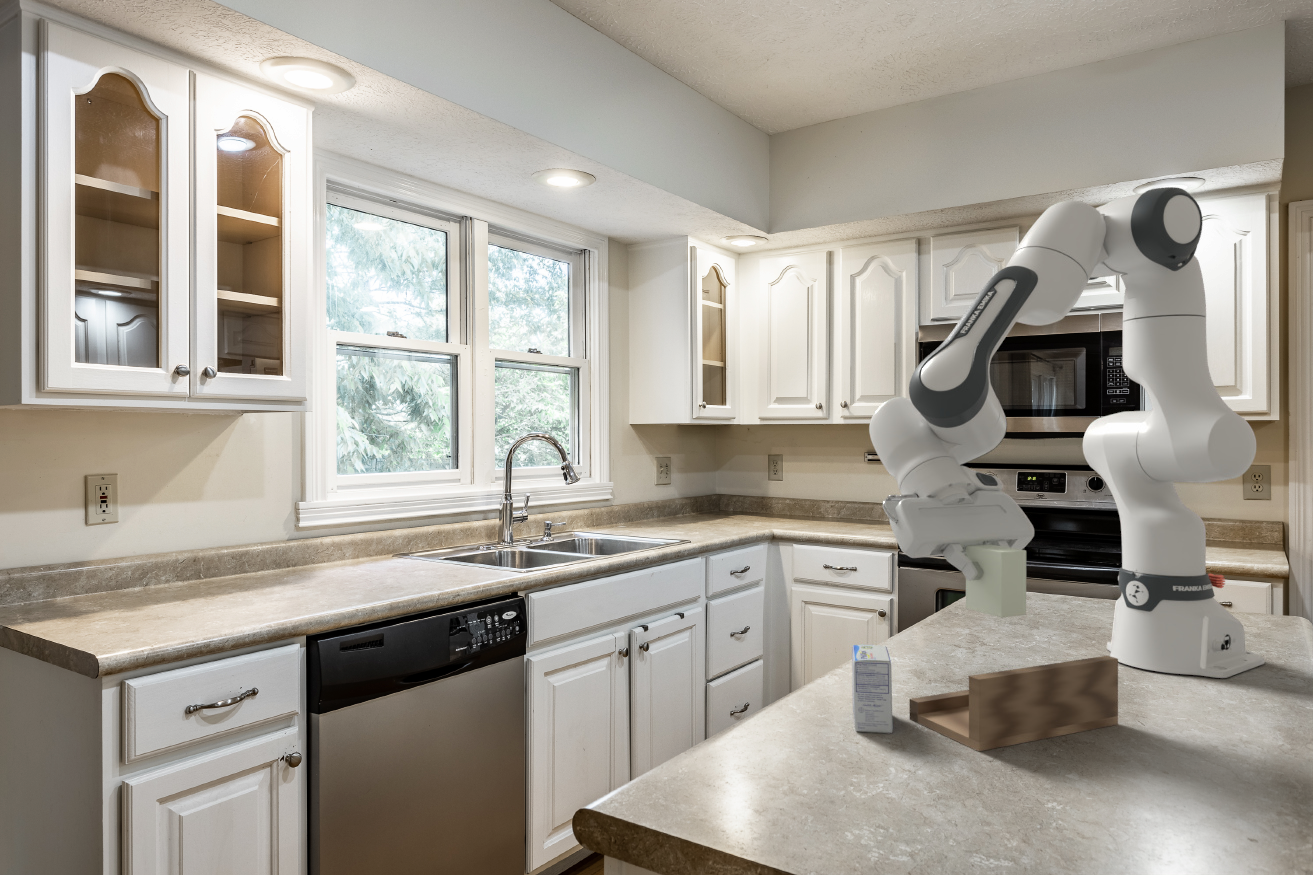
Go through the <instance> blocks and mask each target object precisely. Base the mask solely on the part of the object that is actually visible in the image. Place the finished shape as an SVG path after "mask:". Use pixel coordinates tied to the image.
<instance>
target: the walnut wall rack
mask: <svg viewBox="0 0 1313 875" xmlns="http://www.w3.org/2000/svg"><path fill="white" fill-rule="evenodd" d="M909 720H911V721H913V722H915V723H917V724H920V725H922V726H924V727H925V728H928V729H931V730H932V731H935V732H936V733H939V734H941V735H943V736H945V737H947V738H949V739H951V740H954V741H956V742H958V743H961V744H962V745H964V746H966V747H968V748H971V749H973V750H975V751H977V752H982V751H983V752H984V751H988V750H993V749H998V748H1003V747H1009V746H1013V745H1018V744H1020V745H1021V744H1024V743H1029V742H1033V741H1034V742H1035V741H1040V740H1044V739H1050V738H1056V737H1061V736H1064V735H1071V734H1075V733H1080V732H1086V731H1092V730H1096V729H1101V728H1106V727H1111V726H1117V725H1119V662H1118V658H1114V657H1111V656H1110V655H1102V656H1096V657H1089V658H1083V659H1076V660H1075V659H1074V660H1068V661H1061V662H1056V663H1048V664H1042V665H1034V666H1028V667H1021V668H1014V669H1008V670H1001V671H995V672H986V673H979V674H974V675H968V689H963V690H958V691H952V692H945V693H939V694H932V695H925V696H920V697H913V698H912V697H911V698H909Z"/></svg>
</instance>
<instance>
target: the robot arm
mask: <svg viewBox="0 0 1313 875" xmlns="http://www.w3.org/2000/svg"><path fill="white" fill-rule="evenodd" d="M1202 232H1203V215H1202V210H1201V207H1200V205H1199V204H1198V201H1196V199H1195V198H1194V197H1193V196H1192V195H1191V194H1190V193H1189V192H1188V191H1187V190H1185V189H1184V188H1180V187H1176V186H1175V187H1169V186H1168V187H1157V188H1151V189H1149V190H1146V191H1145V192H1141V193H1137V194H1130V195H1127V196H1123V197H1120V198H1116V199H1114V200H1111V201H1108V202H1107V203H1106V204H1102V205H1100V206H1098V207H1094V206H1092V204H1091V205H1090V204H1088V203H1087V202H1083V201H1079V200H1064V201H1059V202H1056V203H1055V204H1052V205H1050V206H1048V208H1047V209H1046V210H1044V212H1042V213H1041V215H1040V216H1039V218H1037V220H1036V221H1035V222H1034V223H1033V224H1032V226H1031V227H1030V228H1029V229H1028V231H1027V233H1025V235H1024V236H1023V238H1022V240H1021V241H1020V242H1019V243H1018V246H1017V247H1016V249H1015V251H1014V252H1013V254H1012V255H1011V258H1010V259H1009V261H1008V262H1007V264H1006V266H1005V267H1004V268H1002V269H1001V270H999V271H998V272H996V273H995V274H994V275H992V277H991V278H990V279H989V280H988V281H987V283H986V284H985V285H984V286H983V288H981V290H980V291H979V293H978V294H977V296H975V299H974V300H973V301H972V303H971V304H970V305H969V307H968V308H967V310H966V311H965V312H964V314H963V315H962V317H961V318H960V319H959V321H958V322H957V324H956V325H955V327H954V328H953V330H952V331H951V332H950V334H949V335H948V336H947V337H946V338H945V340H944V341H943V342H942V343H941V344H940V345H939V346H938V347H937V348H936V349H935V350H933V351H932V352H931V353H930V354H928V355H927V356H926V357H925V358H924V359H922V361H921V362H920V363H919V365H917V367H916V368H915V369H914V371H913V373H912V375H911V377H910V380H909V385H908V394H909V398H907V397H903V396H897V397H893V398H890V399H888V400H887V401H884V403H882V404H881V405H880V406H879V407H878V408H877V409H876V410H875V412H874V413H873V415H872V416H871V419H870V421H869V427H868V432H869V436H870V440H871V443H872V446H873V448H874V450H875V453H876V454H877V456H878V458H879V460H880V462H881V463H882V466H883V467H884V469H885V470H886V471H887V473H889V475H890V476H891V477H893V478H894V480H895V481H896V483H897V487H898V490H899V492H900V494H890V495H887V497H886V498H885V499H884V500H883V501H882V509H883V512H884V513H885V514H886V515H887V518H888V519H889V525H890V528H891V530H892V533H893V535H894V538H895V540H896V542H897V544H898V546H899V548H900V550H901V552H903V553H904V554H905V555H906V556H908V557H909V558H912V559H917V558H933V557H941V556H942V557H944V558H945V559H946V560H945V561H946V562H948V563H949V564H951V565H952V566H953V567H955V568H956V569H957V570H959V571H961V572H962V574H963V575H964V577H965V580H966V579H967V580H968V581H971V580H979V579H980V577H981V576H983V574H984V572H983V569H982V568H980V565H979V563H978V562H972V561H971V560H970V559H969V558H968V557H967V556H966V546H976V545H996V546H1002V547H1008V548H1014V549H1020V550H1024V549H1025V547H1026V546H1027V545H1028V544H1029V543H1030V542H1031V541H1032V539H1033V538H1034V537H1035V528H1034V525H1033V524H1032V522H1031V521H1030V519H1029V518H1028V516H1027V515H1026V514H1025V512H1024V511H1023V509H1022V508H1021V507H1020V506H1019V505H1018V503H1017V502H1016V501H1015V499H1014V498H1012V497H1011V495H1009V494H1007V493H1006V492H1004V491H1002V490H1003V488H1004V486H1005V484H1004V483H1003V482H1002V481H1001V479H1000V478H999V477H998V476H995V475H992V474H988V473H984V472H981V471H977V470H974V469H971V468H969V467H968V466H965V464H967V463H970V462H972V461H974V460H977V459H979V458H981V457H983V456H985V455H987V454H989V453H990V452H992V451H994V450H995V449H996V448H997V447H998V446H999V445H1001V443H1002V442H1003V440H1004V438H1005V437H1006V433H1007V430H1008V421H1007V416H1006V414H1005V412H1004V410H1003V407H1002V405H1001V403H1000V400H999V399H998V397H997V395H996V392H995V391H994V388H993V386H992V383H991V376H990V375H991V374H990V368H991V367H990V366H991V365H990V364H991V361H992V358H993V357H994V355H995V354H996V352H997V350H999V348H1000V346H1001V345H1002V344H1003V341H1004V340H1005V339H1006V337H1007V336H1008V335H1009V333H1010V332H1011V331H1012V330H1013V327H1014V325H1015V324H1016V323H1020V324H1023V325H1024V324H1025V325H1029V326H1038V327H1039V326H1040V327H1041V326H1046V325H1051V324H1054V323H1057V322H1060V321H1061V320H1063V319H1064V318H1065V317H1066V316H1067V315H1068V313H1069V312H1071V311H1072V309H1073V308H1074V307H1075V305H1076V304H1077V303H1078V301H1079V299H1080V298H1081V296H1082V295H1083V294H1082V293H1083V292H1084V290H1085V288H1086V286H1087V284H1088V282H1089V281H1091V280H1092V281H1094V280H1097V279H1099V278H1105V277H1106V278H1107V277H1113V276H1120V278H1121V280H1122V282H1123V284H1124V285H1123V286H1124V287H1125V290H1124V296H1123V305H1122V306H1123V307H1122V370H1123V372H1124V373H1125V375H1126V376H1127V377H1128V378H1129V379H1130V380H1131V381H1133V382H1135V383H1136V384H1139V385H1141V386H1142V388H1143V389H1144V390H1145V392H1146V394H1147V395H1148V397H1149V400H1150V404H1151V410H1134V411H1129V410H1128V411H1121V412H1120V411H1119V412H1117V413H1113V414H1108V415H1105V416H1102V417H1099V418H1097V419H1095V420H1093V421H1092V422H1091V423H1090V424H1089V425H1088V427H1087V428H1086V431H1085V432H1084V436H1083V437H1082V438H1083V440H1082V452H1083V456H1084V458H1085V460H1086V462H1087V464H1088V465H1089V467H1090V468H1091V469H1093V470H1094V471H1095V472H1096V473H1097V475H1099V476H1100V477H1101V478H1102V479H1103V481H1104V482H1105V484H1106V486H1107V487H1108V489H1109V491H1110V493H1111V495H1112V497H1113V499H1114V501H1115V505H1116V507H1117V513H1118V515H1119V521H1120V531H1121V533H1120V534H1121V536H1120V537H1121V563H1122V564H1121V567H1119V569H1118V576H1117V581H1118V590H1119V591H1120V592H1121V595H1120V597H1119V598H1118V599H1117V600H1116V602H1115V605H1114V606H1115V607H1114V614H1113V615H1114V616H1113V624H1112V631H1111V632H1112V633H1111V634H1112V635H1111V640H1110V641H1107V642H1106V649H1107V650H1108V651H1109V652H1110V654H1109V656H1110V657H1114V658H1118V663H1122V664H1123V665H1128V666H1131V667H1135V668H1139V669H1143V670H1147V671H1155V672H1159V673H1167V674H1177V675H1179V674H1180V675H1193V676H1202V677H1203V676H1204V677H1208V678H1209V677H1210V678H1217V679H1219V678H1220V679H1226V678H1229V677H1232V676H1234V675H1237V674H1240V673H1243V672H1246V671H1249V670H1251V669H1254V668H1256V667H1258V666H1263V665H1264V664H1265V662H1266V661H1265V657H1264V656H1262V655H1260V654H1258V653H1255V652H1252V651H1249V650H1246V636H1245V635H1246V634H1245V629H1244V628H1245V627H1244V625H1243V623H1242V622H1241V621H1240V620H1239V619H1238V618H1236V617H1235V616H1234V615H1233V614H1232V613H1231V612H1229V611H1228V610H1227V609H1226V608H1225V607H1224V606H1223V605H1222V604H1221V603H1220V602H1219V601H1218V600H1216V599H1215V598H1214V597H1215V596H1216V595H1215V592H1214V589H1213V587H1215V588H1217V589H1222V588H1224V585H1226V578H1225V576H1224V575H1223V574H1213V573H1207V571H1206V570H1207V569H1206V565H1207V564H1206V563H1207V562H1206V560H1207V558H1206V555H1207V554H1206V552H1207V551H1206V550H1207V549H1206V548H1207V547H1206V546H1207V544H1206V543H1207V540H1206V539H1207V538H1206V536H1207V534H1206V532H1207V531H1206V530H1207V529H1206V525H1205V523H1204V521H1203V519H1202V517H1200V516H1199V515H1198V513H1197V512H1195V511H1194V510H1192V509H1190V508H1189V507H1187V506H1186V505H1185V504H1184V502H1183V501H1182V500H1181V498H1180V497H1179V494H1178V492H1177V490H1176V487H1175V482H1179V483H1194V484H1195V483H1196V484H1207V483H1208V484H1209V483H1214V482H1222V481H1229V480H1232V479H1233V480H1234V479H1237V478H1239V477H1241V476H1242V475H1244V474H1245V473H1246V472H1247V471H1248V470H1249V469H1250V467H1251V465H1252V463H1253V462H1254V460H1255V458H1256V455H1257V454H1256V453H1257V439H1256V435H1255V432H1254V430H1253V428H1252V427H1251V425H1250V424H1249V423H1248V421H1247V420H1246V419H1245V418H1244V417H1243V416H1241V415H1239V414H1238V413H1237V412H1235V411H1234V410H1233V409H1232V408H1230V407H1229V406H1228V404H1227V403H1226V402H1225V401H1224V400H1223V398H1222V397H1221V395H1220V393H1219V392H1218V390H1217V389H1216V386H1215V384H1214V381H1213V380H1212V376H1211V372H1210V369H1209V362H1208V348H1207V346H1208V345H1207V344H1208V343H1207V302H1206V292H1205V283H1204V278H1203V274H1202V270H1201V269H1202V268H1201V265H1200V262H1199V260H1198V258H1197V257H1196V255H1195V254H1196V251H1197V248H1198V245H1199V243H1200V240H1201V236H1202Z"/></svg>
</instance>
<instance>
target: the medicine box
mask: <svg viewBox="0 0 1313 875" xmlns="http://www.w3.org/2000/svg"><path fill="white" fill-rule="evenodd" d="M851 648H852V649H851V670H852V676H851V679H852V683H851V684H852V693H851V694H852V695H851V696H852V711H853V720H854V731H856V732H860V733H862V732H863V733H870V734H871V733H872V734H873V733H874V734H875V733H876V734H889V735H891V734H892V733H893V729H894V728H893V727H894V726H893V687H892V686H893V685H892V683H893V681H892V680H893V679H892V677H893V676H892V674H893V673H892V661H891V657H890V653H889V650H888V647H887V645H881V644H879V645H877V644H853V645H852V647H851Z"/></svg>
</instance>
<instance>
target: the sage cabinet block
mask: <svg viewBox="0 0 1313 875" xmlns="http://www.w3.org/2000/svg"><path fill="white" fill-rule="evenodd" d="M965 556H967V557H968V558H969V559H970V560H971V561H972V562H978V563H979V565H980V568H982V569H983V572H984V574H983V576H981V577H980V579H979V580H971V581H968V580H967V579H966V578H965V609H967V610H970V611H971V610H972V611H976V612H979V613H982V614H986V615H990V616H992V617H993V616H994V617H998V618H1000V619H1003V618H1004V619H1005V618H1012V617H1020V616H1022V617H1023V616H1027V550H1025V549H1022V550H1020V549H1014V548H1008V547H1002V546H996V545H976V546H966V554H965Z"/></svg>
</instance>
